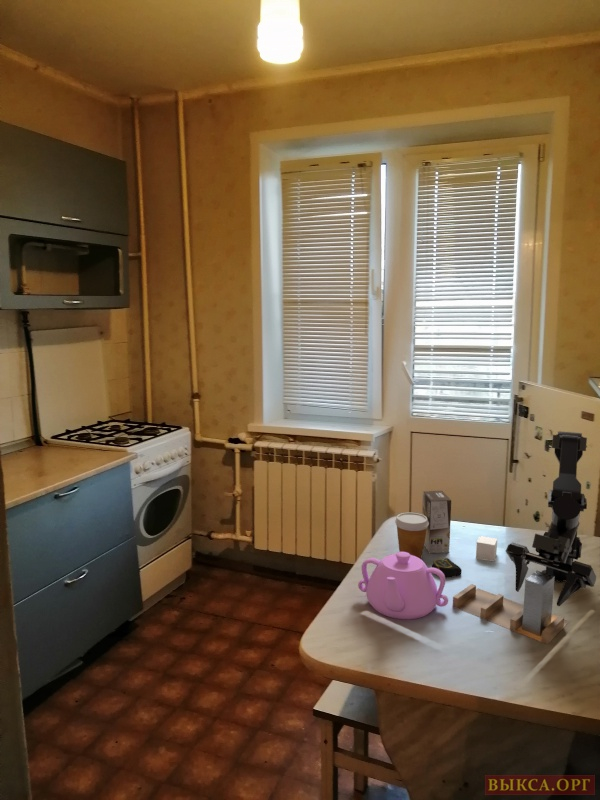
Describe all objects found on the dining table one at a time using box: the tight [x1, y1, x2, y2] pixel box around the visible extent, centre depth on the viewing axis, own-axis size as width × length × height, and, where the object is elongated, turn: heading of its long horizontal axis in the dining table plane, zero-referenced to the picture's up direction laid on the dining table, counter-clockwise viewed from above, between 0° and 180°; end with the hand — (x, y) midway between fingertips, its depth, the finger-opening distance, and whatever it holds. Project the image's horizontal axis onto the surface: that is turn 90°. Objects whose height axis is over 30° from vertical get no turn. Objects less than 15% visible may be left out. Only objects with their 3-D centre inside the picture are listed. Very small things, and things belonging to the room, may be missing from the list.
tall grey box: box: [522, 570, 555, 636], centre depth 136 cm, size 6×4×12 cm, turn 136°
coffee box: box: [421, 490, 452, 554], centre depth 181 cm, size 9×6×16 cm
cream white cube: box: [475, 535, 498, 562], centre depth 176 cm, size 5×5×5 cm
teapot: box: [357, 551, 449, 620], centre depth 145 cm, size 22×22×14 cm
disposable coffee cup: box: [394, 512, 429, 560], centre depth 174 cm, size 10×10×12 cm
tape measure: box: [431, 557, 462, 579], centre depth 164 cm, size 7×7×4 cm
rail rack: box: [452, 583, 570, 645], centre depth 143 cm, size 12×23×4 cm, turn 46°
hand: (536, 597), depth 134 cm, fingers open, 9 cm apart
